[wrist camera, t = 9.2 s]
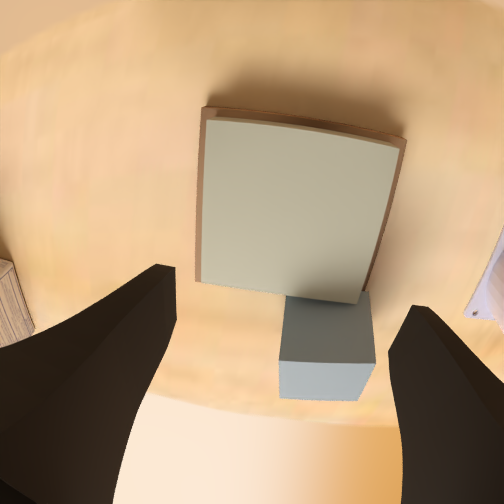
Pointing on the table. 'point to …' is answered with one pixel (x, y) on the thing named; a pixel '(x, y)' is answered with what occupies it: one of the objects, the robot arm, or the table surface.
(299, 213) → the tower top
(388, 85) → the table surface
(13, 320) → the medicine box
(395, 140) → the tower base
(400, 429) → the robot arm
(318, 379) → the cube
